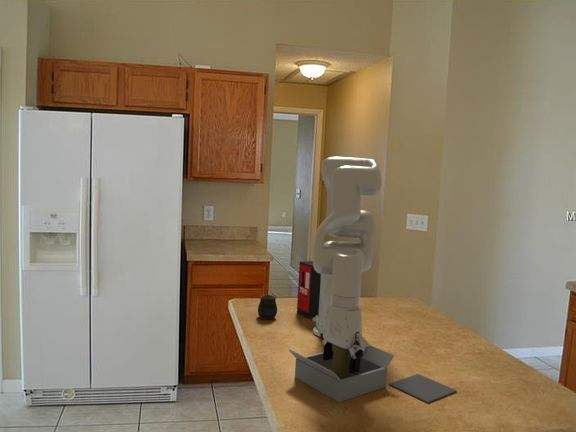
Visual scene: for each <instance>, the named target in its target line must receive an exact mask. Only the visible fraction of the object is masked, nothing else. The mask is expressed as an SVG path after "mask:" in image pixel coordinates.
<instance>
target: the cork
mask: <svg viewBox="0 0 576 432" xmlns="http://www.w3.org/2000/svg"><path fill="white" fill-rule="evenodd" d="M332 351H333V352H334V354H333V359H332V364H331V369H329V370H331V371H333V372H334V373H335V374H336V375H337V376H338V377H339V379H340V380H342V379H345V378H349V377H352V374H351V373H349V365H350V351H349V349H347V350H346V349H343V348H341V347H338V346H336V345H334V344H332Z"/></svg>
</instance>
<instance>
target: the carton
mask: <svg viewBox="0 0 576 432" xmlns="http://www.w3.org/2000/svg"><path fill="white" fill-rule="evenodd" d="M360 348H361V345H360ZM354 351H355V353H356V352H357V351H356V349H355V348H354ZM288 352H290V353H291V354H292V356H293V357H294V358H295V367H294V368H295V369H294V378H295V379H297V380H299V381H301V382H302V383H304V384H306V385H308V386H310V387H311V388H313V389H314V390H316V391H319V392H320V393H321V394H323V395H325V396H327V397H328V398H330V399H332V400H334V401H335V402H337V403H341V402H344V401H347V400H350V399H353V398H356V397H358V396H362V395H365V394H368V393H371V392H374V391H376V390H377V391H378V390H380V389H383V388H386V385H387V383H386V382H387V374H388V372H387V371H388V367H389V365H390V363H391V362H392V360H393V358H394V357H395V355H394V354H392V353H390V352H387V351H385V350H383V349H380V348H377V347H375V346H373V345H371V344H369V348H368V349H367V351H366V353H365V354H364V355H363V357H361V358H360V371H359V372H356V373H354V374H355V375H351V377H349V378H345V379H342V380H340V379H339V377H338V376H337V375H336V374H335V373H334V372H333V371H331V370H330V369H331V364H332V359H330V360H326V361H324V360H323V351H322V352H319V353H318V352H317V353H314V354H310V355H309V354H308V355H306V356H305V355H304V356H303V355H302V354H300V353H298V352H296V351H294V350H292V349H288ZM350 358H352V356H351V353H350Z"/></svg>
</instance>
